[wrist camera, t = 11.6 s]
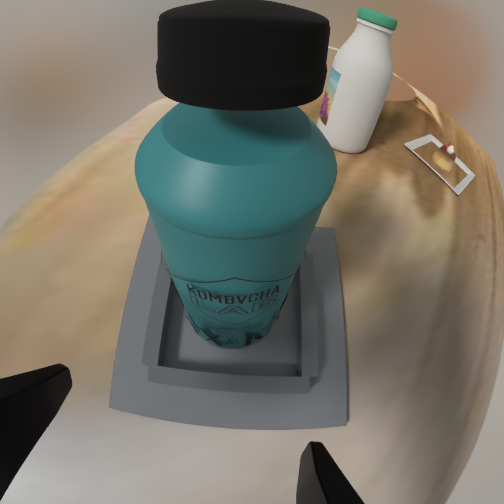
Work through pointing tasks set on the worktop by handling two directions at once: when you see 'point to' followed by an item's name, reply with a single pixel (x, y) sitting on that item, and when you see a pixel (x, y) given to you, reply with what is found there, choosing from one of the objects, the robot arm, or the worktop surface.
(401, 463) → the worktop surface
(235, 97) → the beverage bottle
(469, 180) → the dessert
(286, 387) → the grey square base plate
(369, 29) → the milk bottle
